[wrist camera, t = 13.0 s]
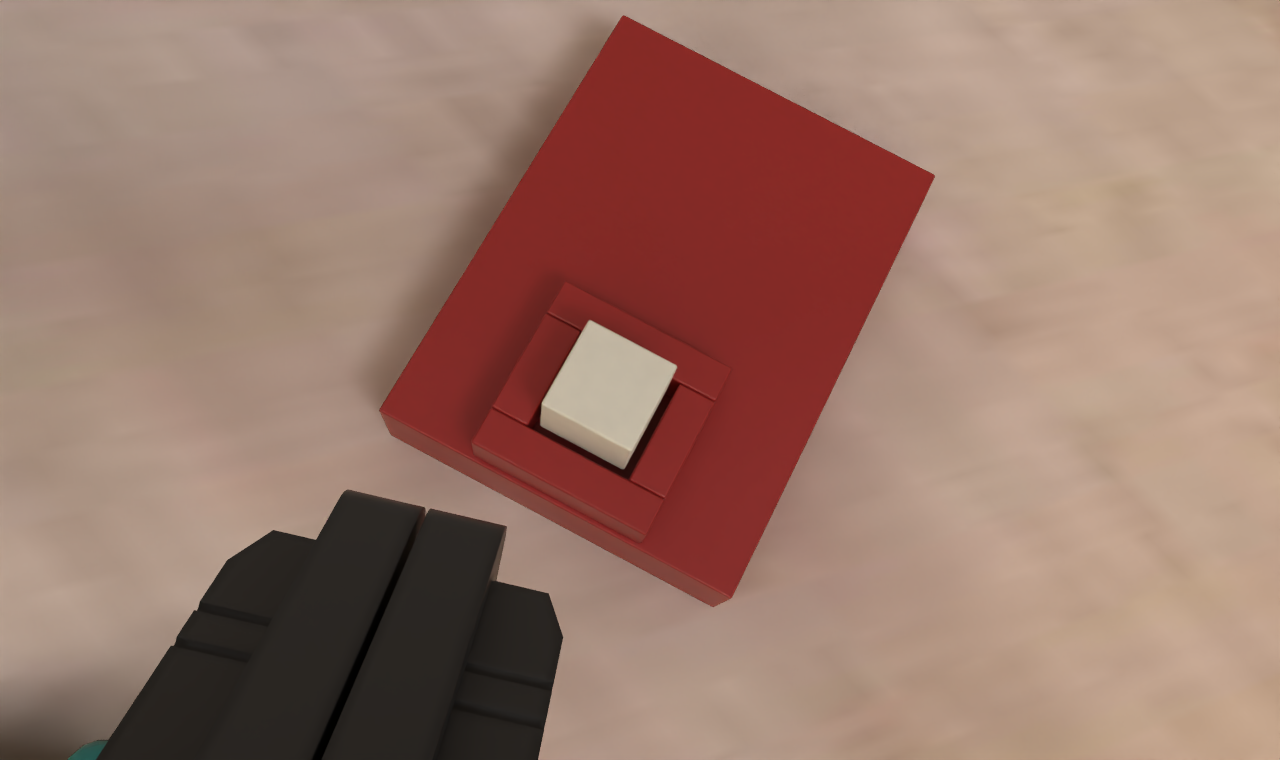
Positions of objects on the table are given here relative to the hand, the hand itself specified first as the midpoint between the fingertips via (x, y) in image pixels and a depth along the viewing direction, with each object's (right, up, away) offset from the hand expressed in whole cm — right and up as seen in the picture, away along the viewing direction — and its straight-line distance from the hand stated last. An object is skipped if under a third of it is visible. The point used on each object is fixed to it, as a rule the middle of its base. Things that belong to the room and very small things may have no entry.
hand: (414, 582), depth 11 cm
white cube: (+1, +1, +23) cm, 23 cm away
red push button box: (+3, +4, +29) cm, 29 cm away
